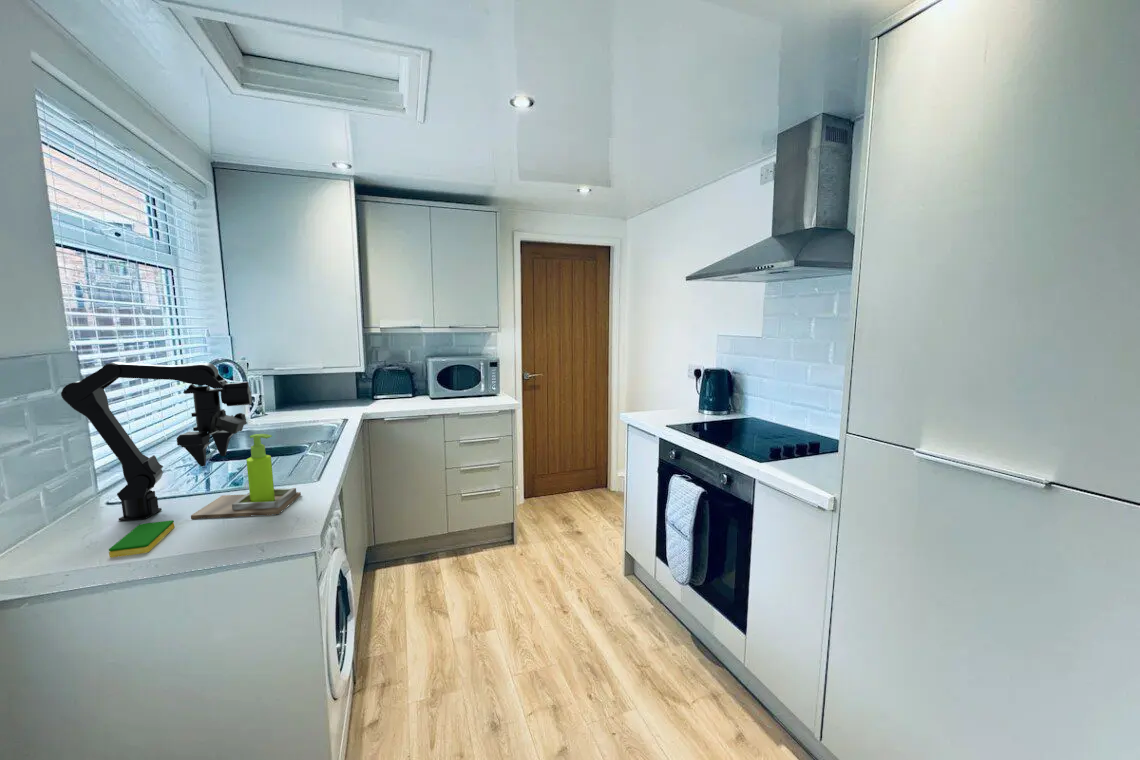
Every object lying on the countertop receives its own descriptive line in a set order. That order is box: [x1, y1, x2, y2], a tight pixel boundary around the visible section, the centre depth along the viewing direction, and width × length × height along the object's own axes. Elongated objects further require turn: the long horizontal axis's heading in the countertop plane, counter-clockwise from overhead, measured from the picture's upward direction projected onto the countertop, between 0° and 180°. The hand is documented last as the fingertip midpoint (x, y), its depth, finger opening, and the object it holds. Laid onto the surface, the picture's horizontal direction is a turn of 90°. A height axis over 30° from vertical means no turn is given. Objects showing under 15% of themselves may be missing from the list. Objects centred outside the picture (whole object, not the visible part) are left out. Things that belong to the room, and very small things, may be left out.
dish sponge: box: [108, 519, 175, 558], centre depth 112 cm, size 7×14×2 cm, turn 20°
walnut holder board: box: [190, 487, 301, 520], centre depth 132 cm, size 22×14×3 cm, turn 98°
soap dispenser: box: [246, 433, 275, 502], centre depth 132 cm, size 6×7×20 cm
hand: (213, 460), depth 132 cm, fingers open, 9 cm apart
